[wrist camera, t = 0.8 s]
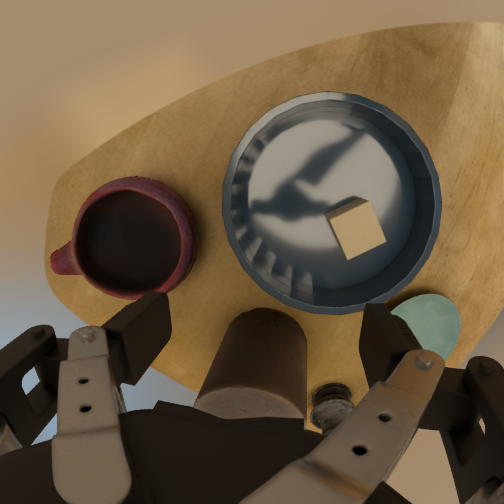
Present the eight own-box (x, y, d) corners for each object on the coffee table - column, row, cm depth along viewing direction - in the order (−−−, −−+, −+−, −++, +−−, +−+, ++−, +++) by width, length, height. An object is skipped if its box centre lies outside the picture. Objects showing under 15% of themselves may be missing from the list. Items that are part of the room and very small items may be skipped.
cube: (324, 214, 29) (329, 220, 25) (360, 197, 28) (369, 200, 24) (341, 249, 29) (347, 260, 26) (375, 233, 28) (386, 241, 25)
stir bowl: (216, 129, 29) (200, 120, 24) (398, 96, 25) (416, 82, 20) (257, 305, 33) (250, 329, 28) (426, 274, 29) (446, 291, 24)
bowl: (155, 150, 30) (115, 146, 23) (231, 237, 32) (210, 257, 24) (82, 243, 35) (41, 259, 27) (142, 317, 36) (110, 348, 28)
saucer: (468, 311, 29) (476, 318, 27) (415, 381, 33) (420, 391, 31) (405, 269, 30) (412, 275, 27) (348, 351, 33) (351, 362, 31)
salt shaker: (361, 387, 34) (375, 456, 22) (340, 416, 36) (347, 483, 24) (321, 376, 34) (325, 449, 23) (302, 407, 36) (299, 476, 24)
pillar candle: (255, 291, 33) (225, 375, 18) (323, 339, 33) (333, 435, 19) (210, 347, 35) (166, 434, 21) (273, 388, 36) (258, 481, 21)
